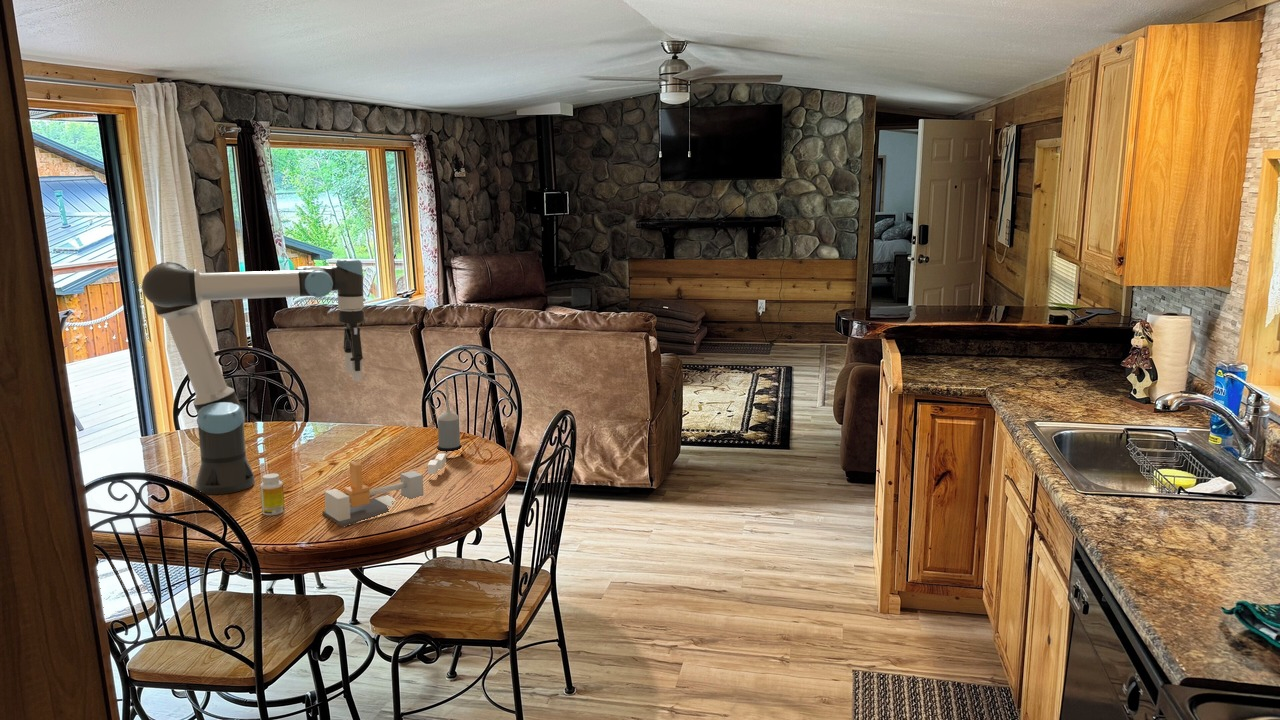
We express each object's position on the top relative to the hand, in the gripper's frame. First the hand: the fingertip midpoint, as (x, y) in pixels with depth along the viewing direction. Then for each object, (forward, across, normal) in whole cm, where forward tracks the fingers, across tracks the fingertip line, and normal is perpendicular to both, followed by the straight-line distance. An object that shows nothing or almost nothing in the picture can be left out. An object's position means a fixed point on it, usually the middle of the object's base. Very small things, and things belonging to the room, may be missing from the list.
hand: (353, 376), depth 272 cm
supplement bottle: (+27, -39, +28) cm, 55 cm away
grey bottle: (+26, -8, -28) cm, 39 cm away
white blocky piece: (+27, -26, -19) cm, 42 cm away
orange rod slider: (+24, -50, +8) cm, 56 cm away
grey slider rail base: (+27, -48, +2) cm, 55 cm away
